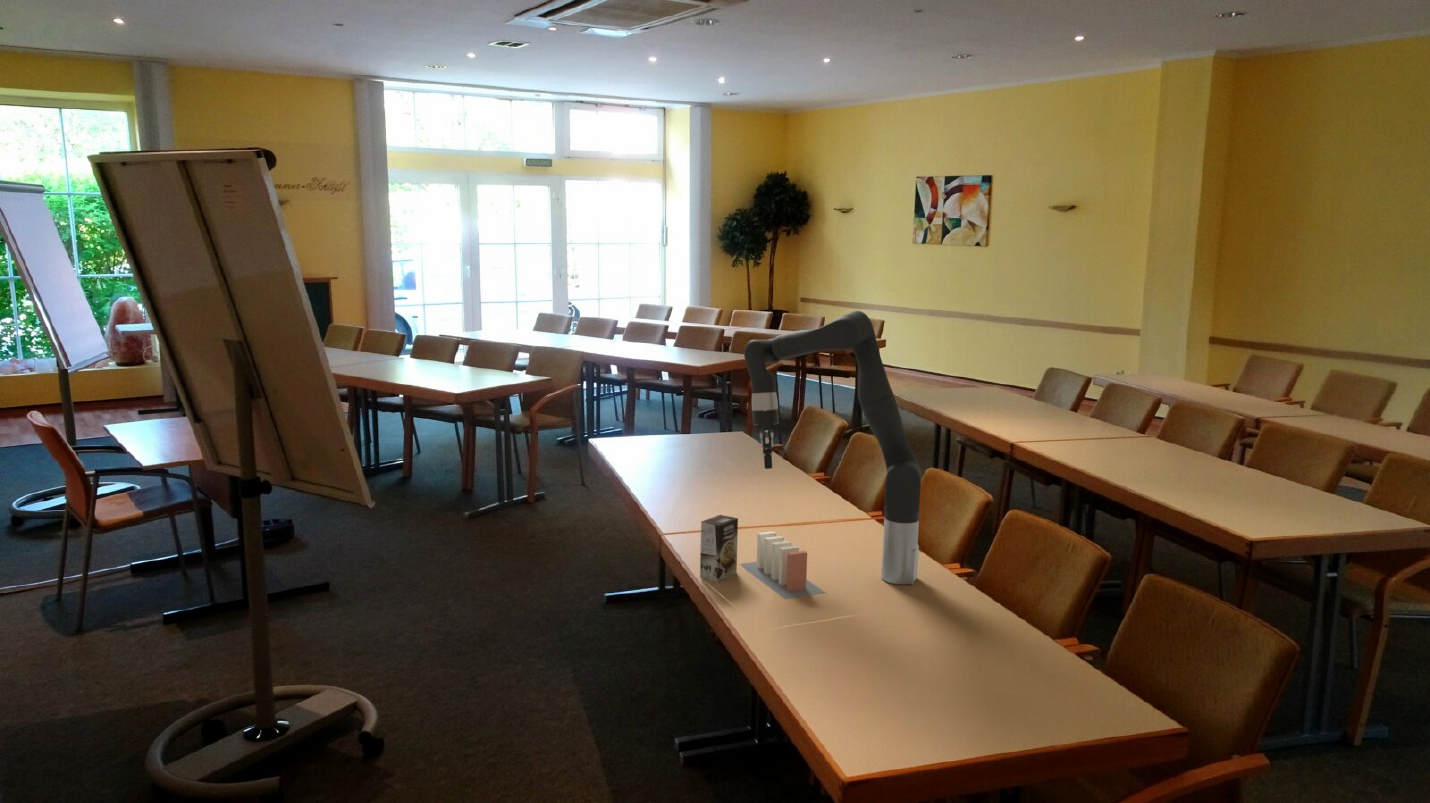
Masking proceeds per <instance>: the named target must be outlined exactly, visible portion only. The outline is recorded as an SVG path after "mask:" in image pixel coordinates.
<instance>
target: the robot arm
mask: <svg viewBox="0 0 1430 803" xmlns="http://www.w3.org/2000/svg"><path fill="white" fill-rule="evenodd" d="M849 350H850V351H851V350H853V353H854V356H855V360H856V362H857V369H858V370H857V371H858V372H857V373H858V374H857V376H858V377H857V396H858V402H859V405H860V408H861V410H862V414H863V416H864V419H865V420H866V423H867V425H868V427H869V428H870V430H871V433H872V434H873V436H874V437H875V438H876V441H877V442H878V444H879V447H880V449H881V452H882V453H881V454H882V456H883V459H884V464H885V468H886V476H885V486H884V516H883V517H884V520H883V521H884V523H883V541H882V542H883V543H882V557H881V559H882V560H881V579H882V580H883V581H885V582H886V583H890V584H893V585H914V584H915V582H916V580H917V579H918V570H919V569H918V567H919V550H920V544H918V542H919V524H920V512H921V511H920V509H921V505H920V504H921V490H922V487H921V486H922V471H921V468H920V466H919V464H918V462H917V460H916V457H915V455H914V454H913V451H912V448H911V447H910V444H909V443H908V440H907V437H906V434H905V429H904V424H903V421H902V420H903V419H902V417H901V414H900V413H901V412H900V410H899V407H898V406H899V405H898V404H897V400H896V397H895V395H894V391H893V389H892V387H891V384H890V382H889V378H888V376H887V372H886V369H885V367H884V363H883V360H882V357H881V353H880V349H879V345H878V341H877V336H876V333H875V328H874V325H873V323H872V320H871V319H870V317H869V316H868V315H867V314H866V313H865V312H864V311H861V310H853V311H851V312H848V313H845V314H842V315H840V316H839V317H837V318H836V319H835V320H833V321H831V322H829V323H826V324H825V325H822V326H819V327H817V328H813V329H803V330H796V331H790V332H786V333H782V334H779V335H777V336H775V337H774V338H768V339H751V340H749V341H748V342H747V343H746V344H745V347H744V357H743V358H744V362H745V364H746V367H747V372H748V374H749V376H750V380H751V413H752V425H753V426H755V427H759V426H760V427H762V431H759V439H760V446H761V448H762V455H763V458H764V459H763V460H764V462H763V463H764V469H766V470H770V469H772V468H773V457H772V456H773V447H774V431H773V430H771V426H774V425H778V424H779V423H780V420H779V418H780V417H779V403H778V396H777V387H776V386H777V384H776V376H775V374H774V373H773V372H771V371H768V368H767V366H766V365H768V364H775V363H777V362H780V361H783V360H787V359H792V358H797V357H801V356H804V355H808V354H812V353H817V352H824V351H825V352H826V351H849Z"/></svg>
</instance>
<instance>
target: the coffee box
mask: <svg viewBox="0 0 1430 803" xmlns="http://www.w3.org/2000/svg"><path fill="white" fill-rule="evenodd" d="M738 526H739V518H738V517H733V516H729V515H722V514H718V515H716V516H713V517H710V518H708V519H704V520H702V521H700V553H699V554H700V555H699V556H700V558H699V578H700V579H707V580H710V581H713V582H720V581H722V580H724V579H727V578H729V577H731V576H733V575H735V574H737V570H738V567H737V566H738V532H739V531H738Z"/></svg>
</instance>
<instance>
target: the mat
mask: <svg viewBox="0 0 1430 803" xmlns="http://www.w3.org/2000/svg"><path fill="white" fill-rule="evenodd" d="M739 566H741V567H742V568H743V569H745V570H746V571H747V572H748V573H749V574H751V575H753V576H754V577H755V578H757V579H758V580H759V581H761V582H762V584H764V585H766V586H767V587H769V588H770V589H771V590H772V591H774V592H775V593H776V594H777V595H779V596H780V597H782V598H783V599H785V600H787V599H794V598H800V597H801V598H802V597H807V596H814V595H820V594H826V592H825V591H824V590H822V588H819V587H818V586H816V585H815V584H814V583H813V582H811V581H810V580H808V579H807V578H806V589H801V590H795V591H788V590H787V589H786V587H787V585H780V584H779V579H777V580H773V579H772V578H771V574H765V573H764V569H758V568H757V561H752V562H745V563H739Z"/></svg>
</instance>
